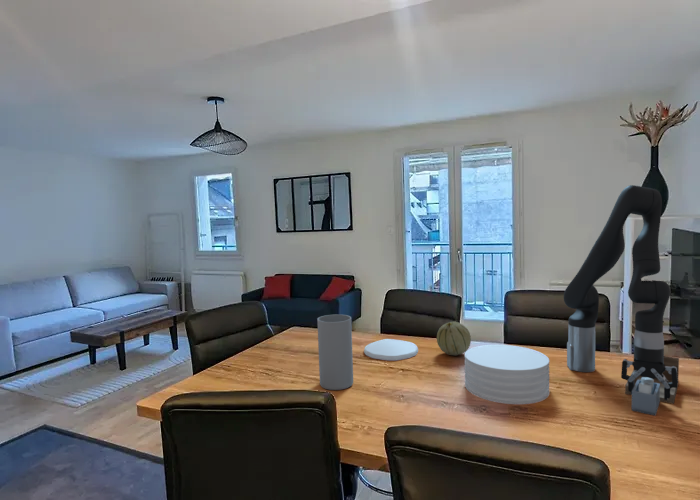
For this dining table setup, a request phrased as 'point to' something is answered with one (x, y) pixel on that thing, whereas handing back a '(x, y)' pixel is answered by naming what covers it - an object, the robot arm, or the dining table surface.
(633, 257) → the robot arm
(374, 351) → the decorative plate
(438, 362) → the dining table surface
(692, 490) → the dining table surface
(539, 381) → the plate stack
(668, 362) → the shelf
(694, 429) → the dining table surface
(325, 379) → the cylinder vase
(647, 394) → the caddy
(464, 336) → the cantaloupe
